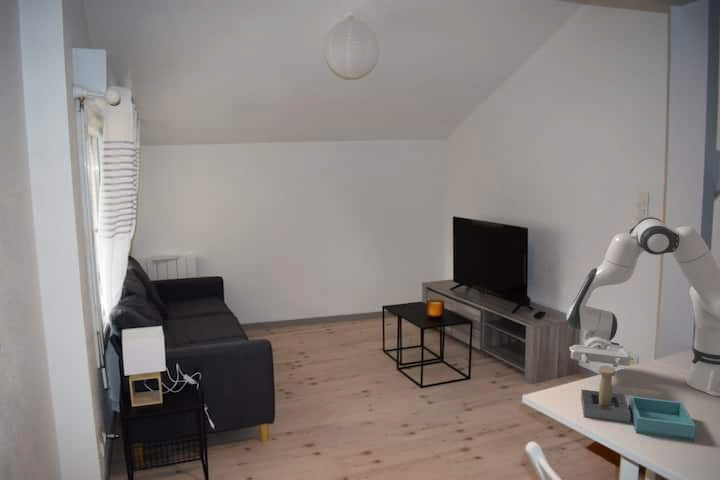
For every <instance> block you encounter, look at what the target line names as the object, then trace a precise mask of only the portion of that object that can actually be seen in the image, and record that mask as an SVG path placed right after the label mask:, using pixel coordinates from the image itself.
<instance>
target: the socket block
mask: <svg viewBox="0 0 720 480" xmlns="http://www.w3.org/2000/svg"><path fill="white" fill-rule="evenodd" d="M580 401H581V407H582V408H581V409H582V413H583V415H582V416H583V418H589V419H596V420H603V421H611V422H617V423H625V424H630V423H631V416H630V414H631V413H630V410H629V403H628V401H627V399H626V396H625V394H623V393H616V392H615V393H614V392H612V395H611V404H610V406H604V405H599V390H598V391H597V390H589V389H582V388H581V391H580ZM612 406H614V407H612Z"/></svg>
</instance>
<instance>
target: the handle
mask: <svg viewBox="0 0 720 480" xmlns="http://www.w3.org/2000/svg"><path fill="white" fill-rule="evenodd" d="M598 373H599V375H600V376H601V377H600V383H599V390H598V391H599V405H604V406H610V404H611V395H612V393H613V392H612V391H613V390H612V386H613V385H612V380H613V377H614V376H615V375H616V369H615V367H613V366H610V365H601V366H600V367H598Z"/></svg>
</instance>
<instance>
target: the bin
mask: <svg viewBox="0 0 720 480" xmlns="http://www.w3.org/2000/svg"><path fill="white" fill-rule="evenodd" d="M628 407H629V410H630V413H631V414H630V415H631V416H630V419H631V418H632V419H631V421H632V424H633V428H634V430H635V433H636V434H641V435H647V436H649V435H650V436H655V437H663V438H669V439H678V440H683V441H690V442H694V441H695V436H696V435H695V434H696V424H695V422H694V420H693V419H692V418H691V415H690V413H689V412H688V410H687V408H686V406H685V405H684V402H681V401H674V400H666V399H659V398H651V397H650V398H648V397H643V396H642V397H641V396H633V395H629V398H628Z"/></svg>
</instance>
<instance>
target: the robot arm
mask: <svg viewBox="0 0 720 480" xmlns="http://www.w3.org/2000/svg"><path fill="white" fill-rule="evenodd" d="M605 252H606V253H605V255H604V258H603V260H602V263H601V264H599V266H597V267H596V268H592V269H591V270H590V272H589V273H588V275H587V276H586V278H585V279H584V282H583V284H582V286H581V288H580V289H579V291H578V293H577V295H576V297H575V299H574V300H573V302H572V304H571V305H570V307H569V309H568V310H567V312H566V317H565V318H566V319H565V320H566V322H567V324H568V325H569V327H571V329H573V330H575V329H576V330H582V331H584V334H583V344H573V345H572V346H569V352H570V358H571V359H572V360H577V361H582V362H584V364H590V362H591V363H592V362H593V363H600V364H608V365H609V364H610V365H612V367H613V368H618V367H619V366H625V367H627V366H630V361H631V356H630V353H629V352H628V350H626V349H625V348H624V345H623V344H621V343H617V342H614V341H613V342H612V340H613V339H614V338H615V337H616V333H617V331H618V319H617V317H616V314H615V313H614V312H613V311H610V310H605V309H600V308H596V307H592V306H588V305H587V303H588V301H589V299H590V297H591V295H592V293H593V292H594V291H595V290H596V289H597V288H599V287H601V288H602V287H604V286H614V285H615V286H616V285H621V284H624V283H626V282H628V281H629V280H630V279H631V278H632V277H633V274H634V272H635V269H636V265H637V262H638V259H639V257H640V256H641V254H642V253H644V252H646V253H648V254H650V255H655V256H657V255H659V256H660V255H664V254H668V253H669V254H670V253H671V254H673V257H674V258H675V260H676V263H677V264H678V266H679V268H680V270H681V272H682V274H683V276H684V278H685V279H686V281H687V282H688V283H689V284H690V285H691V287H690V288H689V297H690V299H691V302H692V307H693V315H694V322H695V323H694V324H695V325H694V326H695V333H694V340H693V341H694V343H693V346H692V349H691V355H690V356H691V357H690V358H691V359H690V360H691V364H690V368H689V371H688V375H687V377H686V378H685V383H686V384H687V386H689V387H692V388H693V389H696V390H698V391H702V392H704V393H707V394H709V395H711V396H714V397H720V266H719V265H718V263H717V261H716V259H715V258H714V256H713V253H712V251H711V250H710V248H709V246H708V245H707V243H706V242H705V240H704V237H702V236H701V234H700V233H699V231H697V230H696V228H694V227H692V226H688V225H683V226H678V227H676V228H670V227H669V226H668V225H667V224H665V223H664V221H662V219H660V218H657V217H653V216H652V217H651V216H650V217H645V218H643V219H641V220H640V221H638V223H636V224H635V226H633V227H632V228H630V231H629V233H627V232H620V233H618V234H615V235H614V237H613V238H612V240H611V241H610V244H609V245H608V248H607V250H606V251H605Z"/></svg>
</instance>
